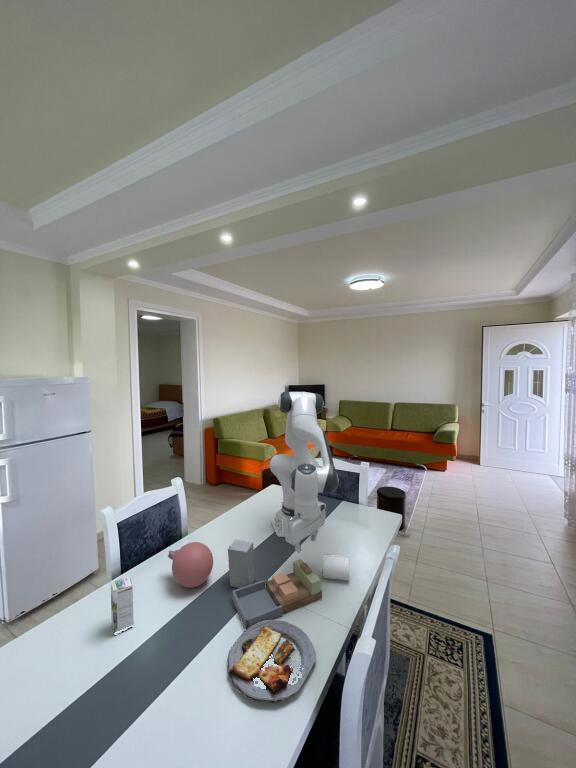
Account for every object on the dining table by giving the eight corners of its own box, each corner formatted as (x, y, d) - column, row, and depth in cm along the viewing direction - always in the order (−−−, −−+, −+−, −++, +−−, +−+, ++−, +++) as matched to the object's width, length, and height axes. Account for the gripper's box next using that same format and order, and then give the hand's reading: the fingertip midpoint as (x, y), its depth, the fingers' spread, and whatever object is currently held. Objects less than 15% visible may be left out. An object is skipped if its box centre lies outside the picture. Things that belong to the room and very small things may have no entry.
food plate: (281, 728, 74) (281, 713, 74) (210, 677, 87) (210, 664, 86) (326, 649, 95) (327, 637, 95) (264, 617, 108) (264, 607, 108)
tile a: (272, 582, 119) (272, 575, 119) (284, 578, 122) (284, 571, 121) (277, 590, 115) (277, 584, 115) (290, 586, 117) (290, 579, 117)
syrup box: (111, 624, 104) (109, 582, 103) (130, 616, 107) (129, 575, 106) (114, 636, 99) (112, 592, 98) (134, 627, 103) (133, 584, 102)
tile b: (279, 592, 114) (279, 585, 114) (291, 588, 116) (291, 581, 116) (285, 601, 109) (285, 594, 109) (298, 596, 112) (298, 590, 112)
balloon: (185, 562, 136) (184, 528, 135) (221, 577, 126) (221, 540, 125) (155, 584, 122) (153, 546, 121) (193, 603, 113) (192, 561, 112)
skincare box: (255, 580, 125) (255, 541, 124) (247, 592, 118) (247, 551, 117) (236, 575, 128) (236, 537, 127) (227, 587, 121) (227, 547, 120)
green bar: (293, 572, 125) (293, 558, 125) (300, 569, 127) (300, 555, 126) (311, 595, 113) (311, 579, 112) (320, 591, 114) (320, 576, 114)
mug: (348, 585, 122) (349, 565, 121) (322, 582, 124) (322, 562, 123) (349, 566, 134) (349, 547, 133) (325, 563, 136) (325, 545, 135)
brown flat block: (265, 589, 120) (265, 581, 120) (302, 576, 127) (302, 568, 127) (282, 615, 107) (282, 606, 107) (321, 599, 115) (321, 591, 115)
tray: (232, 600, 114) (231, 590, 114) (264, 588, 120) (264, 579, 120) (246, 631, 101) (246, 620, 101) (282, 616, 107) (282, 606, 107)
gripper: (295, 522, 108) (295, 561, 109) (328, 502, 123) (328, 537, 124) (281, 516, 112) (281, 554, 113) (315, 498, 127) (315, 531, 128)
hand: (306, 545), depth 118 cm, fingers open, 8 cm apart
